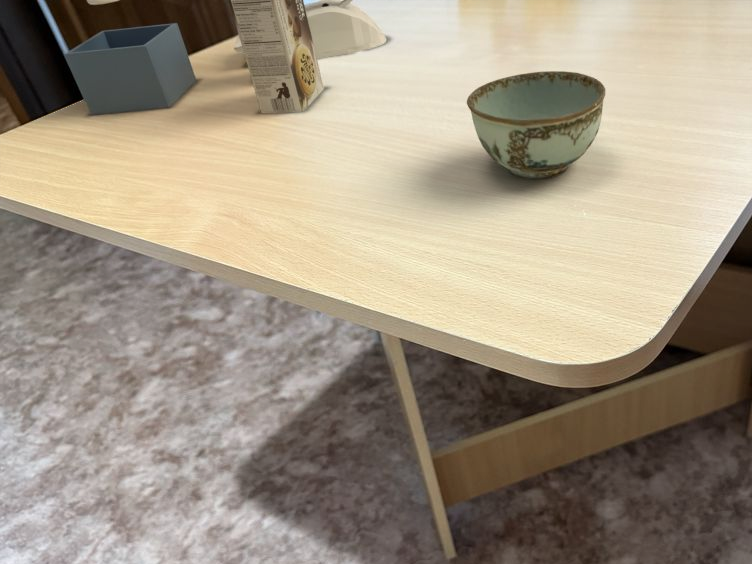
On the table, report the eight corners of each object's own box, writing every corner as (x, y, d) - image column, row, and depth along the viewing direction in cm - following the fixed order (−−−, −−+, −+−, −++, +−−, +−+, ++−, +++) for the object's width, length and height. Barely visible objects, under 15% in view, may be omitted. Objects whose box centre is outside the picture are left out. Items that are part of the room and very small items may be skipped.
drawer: (170, 110, 100) (145, 45, 95) (92, 118, 101) (63, 54, 96) (205, 75, 112) (185, 16, 107) (135, 82, 114) (112, 24, 108)
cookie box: (284, 93, 101) (252, -30, 91) (326, 91, 100) (297, -34, 90) (260, 116, 94) (221, -14, 84) (304, 115, 93) (270, -18, 83)
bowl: (632, 169, 70) (637, 89, 65) (528, 213, 65) (523, 131, 60) (548, 133, 80) (546, 61, 75) (450, 170, 74) (441, 95, 69)
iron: (247, 54, 120) (219, -43, 111) (384, 33, 122) (368, -65, 112) (241, 72, 112) (210, -31, 102) (389, 50, 113) (371, -55, 104)
